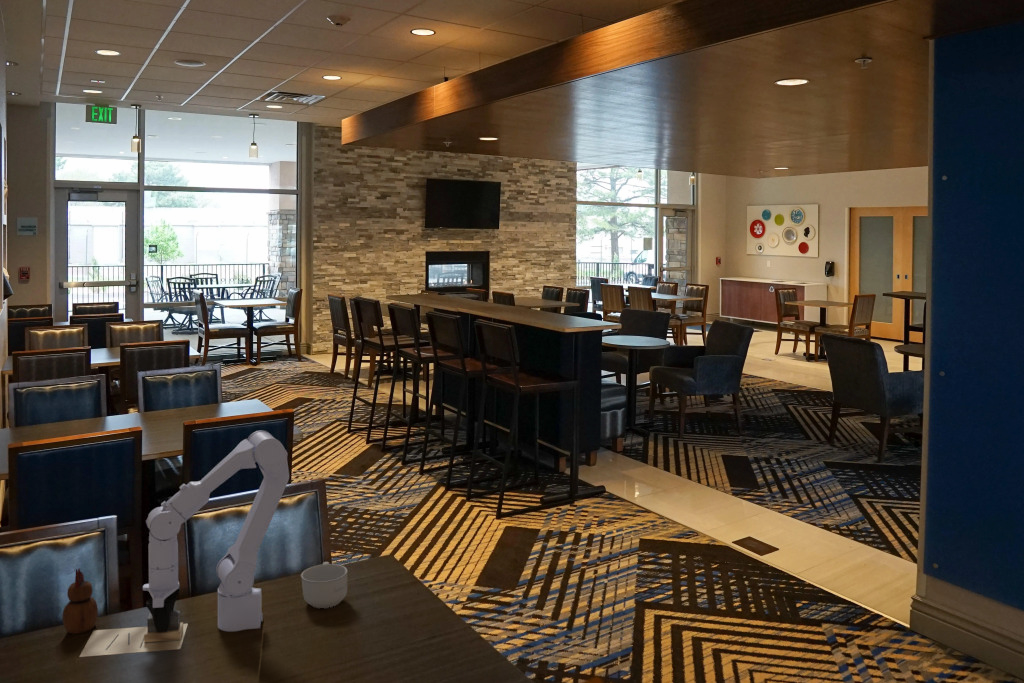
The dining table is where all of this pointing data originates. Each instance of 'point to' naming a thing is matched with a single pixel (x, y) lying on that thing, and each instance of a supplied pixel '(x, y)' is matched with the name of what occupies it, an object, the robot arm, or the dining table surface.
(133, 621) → the dining table surface
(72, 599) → the wooden figurine
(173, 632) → the block
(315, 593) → the teacup
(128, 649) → the board
